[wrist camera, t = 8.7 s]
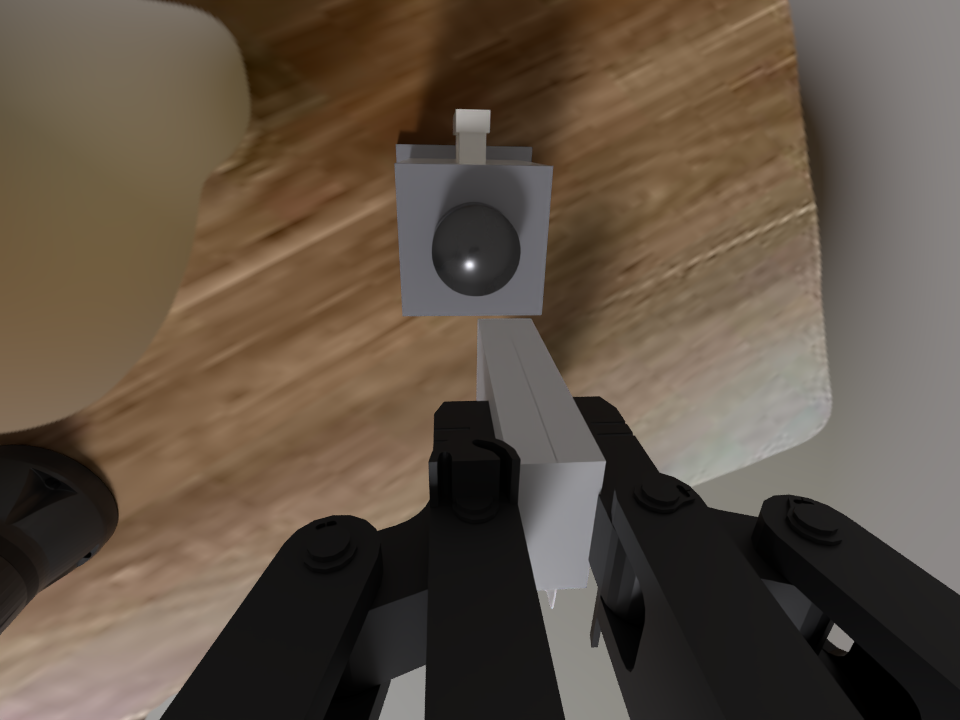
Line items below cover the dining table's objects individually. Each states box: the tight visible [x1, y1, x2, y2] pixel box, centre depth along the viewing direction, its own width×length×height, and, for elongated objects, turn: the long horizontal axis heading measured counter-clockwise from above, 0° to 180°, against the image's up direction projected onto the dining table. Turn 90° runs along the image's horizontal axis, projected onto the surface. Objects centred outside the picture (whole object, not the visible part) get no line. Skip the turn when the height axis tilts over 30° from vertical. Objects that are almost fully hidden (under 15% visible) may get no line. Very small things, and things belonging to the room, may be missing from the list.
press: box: [395, 109, 553, 316], centre depth 34 cm, size 11×13×14 cm
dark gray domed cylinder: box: [432, 202, 521, 296], centre depth 33 cm, size 6×6×14 cm
